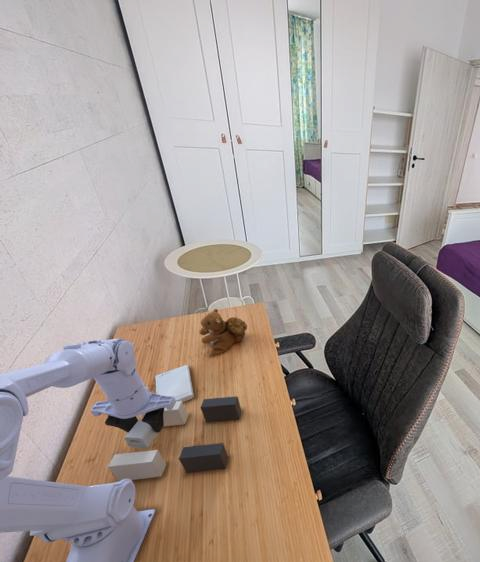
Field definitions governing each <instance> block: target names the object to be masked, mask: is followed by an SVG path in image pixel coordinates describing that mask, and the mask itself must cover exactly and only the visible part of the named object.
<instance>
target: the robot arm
mask: <svg viewBox="0 0 480 562" xmlns="http://www.w3.org/2000/svg"><path fill="white" fill-rule="evenodd" d="M137 362H138V361H137V360H136V357H135V347H134V343H133V342H131V341H129V340H126V339H125V338H123V337H122V338H121V337H120V338H113V339H111V338H110V339H91V340H88V341H87V342H85V341H82V342H81V343H71V344H66V345H63V349H62V350H61V349H60V350H58V351H55V352H53V353H51V354H50V355H49V356H48V357H47V358H45V359H44V361H43V362H42V363H40V364H37V365H32V366H28V367H23V368H19V369H14V370H10V371H7V372H2V373H0V534H1V533H20V532H21V533H23V532H29V536H30V537H35V536H36V537H38V538H39V539H40V540H41V541H42V542H43V543H44V544H45V543H47V544H50V543H54V542H56V541H58V540H62V541H64V542H70V549H69V553H68V554H67V555H68V556H67V558H66V560H65V562H135V561H136V559H137V556H138V553H139V551H140V548H141V546H142V544H143V541H144V539H145V537H146V535H147V532H148V530H149V528H150V525H151V523H152V521H153V518H154V516H155V513H156V510H155V508H154V509H153V508H152V509H151V508H150V509H145V510H137V509H136V508H135V507H134V503H135V502H136V501H135V500H136V494H137V493H136V485H135V483H134V482H133V480H131V479H123V480H121V481H118V480H117V481H115V482H110V483H104V484H103V483H102V484H94V485H80V484H73V483H65V482H56V481H49V480H41V479H34V478H33V479H32V478H26V477H17V476H9V475H11V473H13V470H14V466H15V459H16V455H17V450H18V444H19V440H20V436H21V429H22V425H23V421H24V417H27V415H28V414H29V403H28V399H27V398H28V397H31V396H33V395H35V394H38V393H40V392H42V391H45V390H46V389H49V388H51V387H53V388H58V389H65V388H67V389H68V388H72V387H74V386H76V385H79V384H81V383H84V382H86V381H88V380H91V379H94V381H95V382H96V384H97V385H98V387H99V389H100V390H101V392H102V394H104V396H105V398H106V399H107V400H102V401H97V402H95V404H94V405H93V406H92V408H91V409H89V411H90V413H91V414H92V416H93V417H100V416H101V415H107V418H106V420H105V422H104V425H105V426H108V427H115V428H118V429H120V430H122V431H124V432H126V433H127V434H128V433H129V431H130V430H131V429H132V428H133V426H134V425H135V424H136V423H137V421H138V420H139V419H138V416H140V415H141V416H142V414H144V413H146V414H145V416H144V417H143V416H142V418H143V419H142V422H145V423H147V424H149V425H150V426H151V427H152V429H153V430H154V431H155V432H156V433H158V432H159V433H160V432H161V431H162V429H163V428H164V426H163V425H164V420H163V414H164V408H166V409H167V410H172V409H173V407H174V405H175V403H176V400H175V398H174V396H164V395H160V394H156V392H153V391H151V392H150V389H149V387H148V386H146V385H145V383H144V381H143V379H142V377H141V375H140V374H139V372H138V369H137V365H138V364H137ZM159 433H158V434H159Z"/></svg>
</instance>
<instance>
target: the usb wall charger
mask: <svg viewBox="0 0 480 562" xmlns="http://www.w3.org/2000/svg"><path fill="white" fill-rule="evenodd" d="M142 419H143V417H140V418H139V419H138V421H137V423H136V424H135V425H134V426H133V428H132V429H131V430H130V431H129V433H127V434H126V435H125V436H124V437H123V439H124V442H125V443H126V444H127V445H128V446H129V447H130V448H133V449H142V450H143V449H144V450H145V449H148V448H149V447H150V446H151V444H152V443H153V441H154V440H155V438H156V437H157V435H158V434H159V433H160V432H158V433H156V432H155V431H154V430H153V429H152V427H151V426H150V425H149V424H147V423H145V422H142Z"/></svg>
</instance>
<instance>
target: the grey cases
mask: <svg viewBox="0 0 480 562" xmlns="http://www.w3.org/2000/svg"><path fill="white" fill-rule="evenodd" d="M199 408H200V410H201V414H202V415H203V418H204V420H205V423H213V422H214V423H215V422H224V421H234V420H240V418H241V415H242V408H241V404H240V400H239V396H238V395H237V396H236V395H235V396H227V397H225V396H223V397H213V398H203V400H202V402H201V404H200V407H199ZM178 461H179V462H180V464H181V466H182V467H183V470H184V472H185V474H195V473H200V472H211V471H219V470H226V468H227V465H228V461H229V454H228V452H227V448H226V447H225V443H224V442H220V443H219V442H218V443H211V444H210V443H209V444H200V445H199V444H198V445H192V446H190V445H189V446H183V447H182V450H181V451H180V454H179V457H178Z"/></svg>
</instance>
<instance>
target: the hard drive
mask: <svg viewBox="0 0 480 562" xmlns="http://www.w3.org/2000/svg"><path fill="white" fill-rule="evenodd" d="M154 377H155V378H154V379H155V393H156V394H160V395H164V396H174V398H175V400H176V401H182V402H183V403H185V402H187V401H189V400H192V399H194V398H195V394H194V389H193V383H192V377H191V372H190V365H188V364H185V365H183V366H179V367H176V368H173V369H171V370H168V371H165V372H162V373H159V374H157V375H155V376H154Z"/></svg>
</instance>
